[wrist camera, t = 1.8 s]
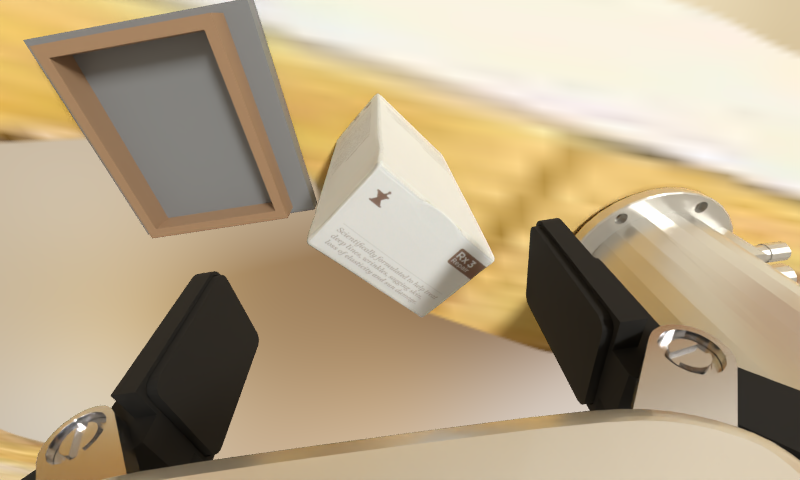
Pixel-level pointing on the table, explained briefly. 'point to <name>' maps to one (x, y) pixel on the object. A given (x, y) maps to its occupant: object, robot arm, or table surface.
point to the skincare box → (397, 213)
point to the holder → (184, 116)
